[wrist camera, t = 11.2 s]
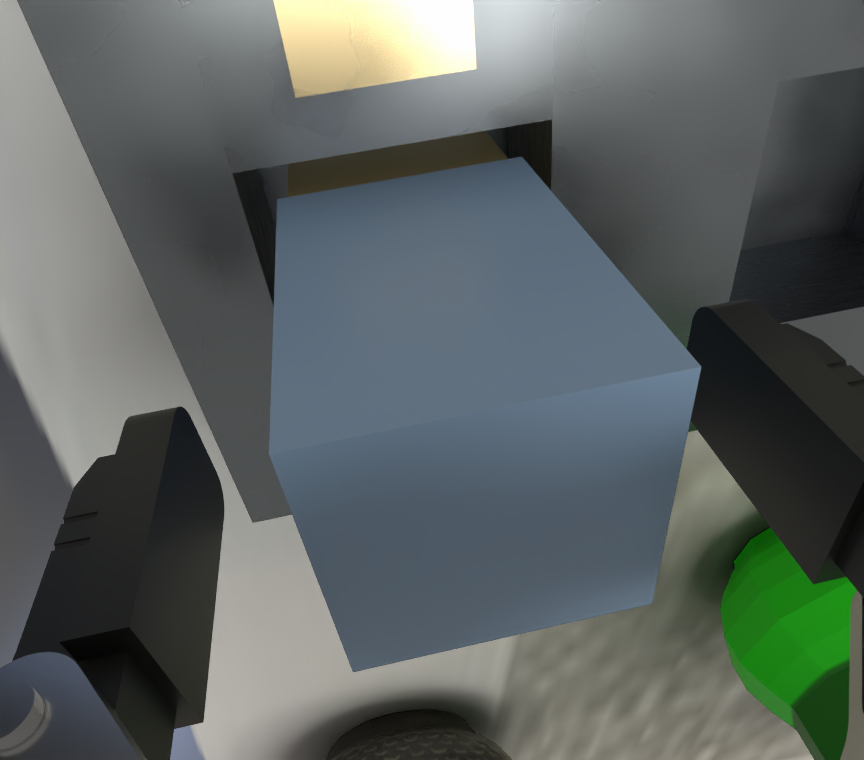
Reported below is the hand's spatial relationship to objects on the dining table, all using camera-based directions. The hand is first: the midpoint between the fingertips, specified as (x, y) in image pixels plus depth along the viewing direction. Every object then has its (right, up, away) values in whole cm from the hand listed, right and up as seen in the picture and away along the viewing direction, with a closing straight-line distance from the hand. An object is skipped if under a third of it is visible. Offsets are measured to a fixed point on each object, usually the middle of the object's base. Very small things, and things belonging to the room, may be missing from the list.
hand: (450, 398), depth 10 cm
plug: (-1, +4, +6) cm, 7 cm away
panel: (+4, +6, +6) cm, 9 cm away
